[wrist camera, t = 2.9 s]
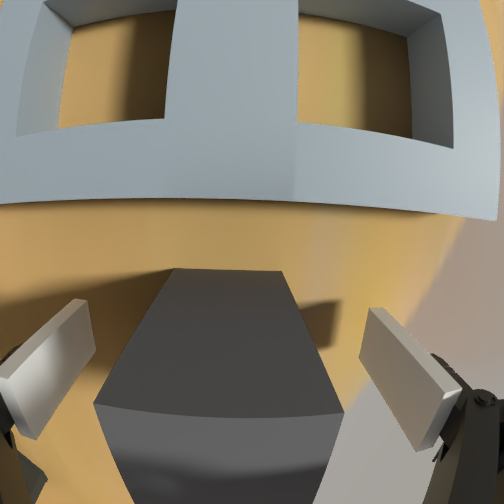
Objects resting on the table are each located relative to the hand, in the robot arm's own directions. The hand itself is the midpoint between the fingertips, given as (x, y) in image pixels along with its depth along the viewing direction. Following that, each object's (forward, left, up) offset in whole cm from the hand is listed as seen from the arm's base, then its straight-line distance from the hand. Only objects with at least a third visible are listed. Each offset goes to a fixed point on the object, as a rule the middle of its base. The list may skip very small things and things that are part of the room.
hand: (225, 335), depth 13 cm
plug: (0, 0, -2) cm, 2 cm away
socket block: (-9, +9, -2) cm, 13 cm away
